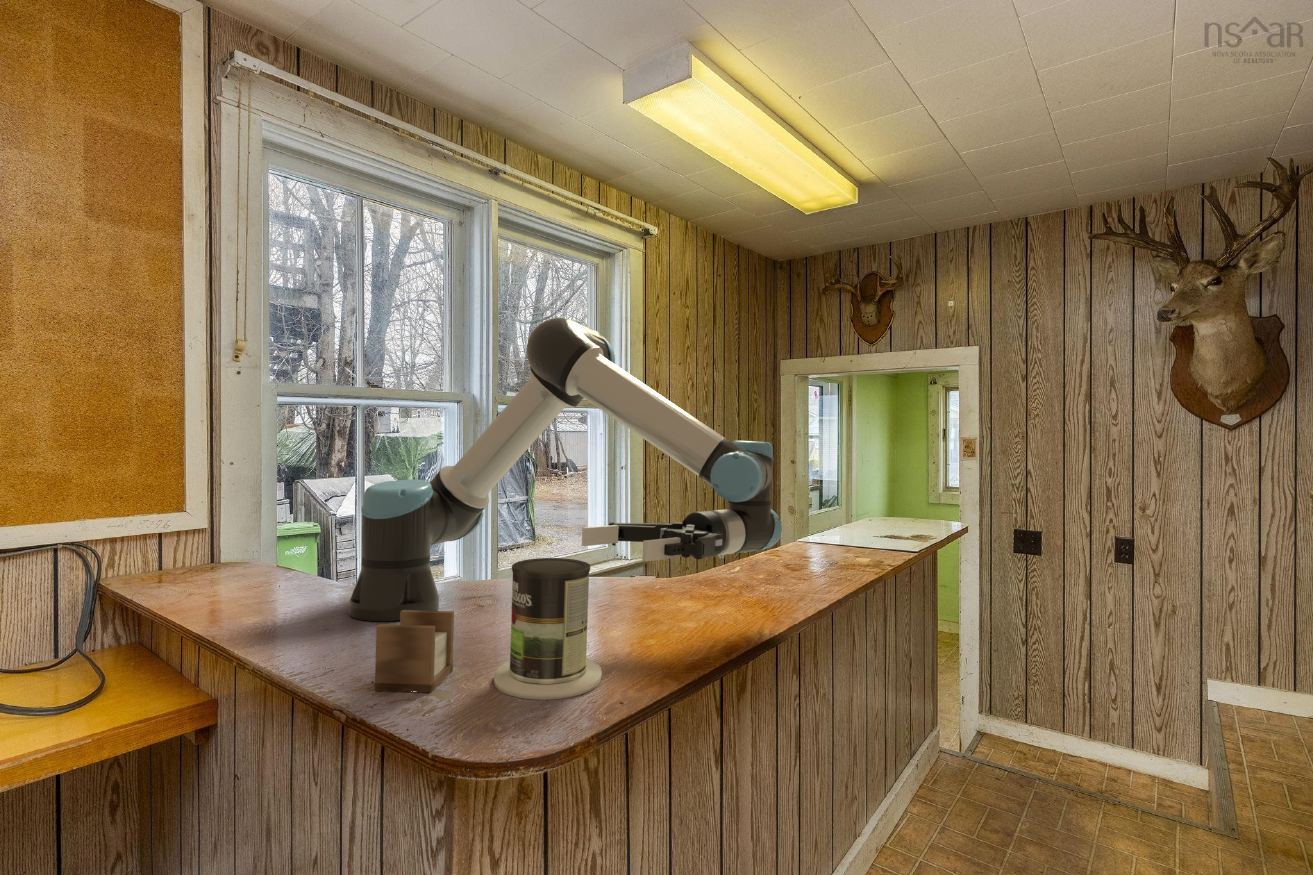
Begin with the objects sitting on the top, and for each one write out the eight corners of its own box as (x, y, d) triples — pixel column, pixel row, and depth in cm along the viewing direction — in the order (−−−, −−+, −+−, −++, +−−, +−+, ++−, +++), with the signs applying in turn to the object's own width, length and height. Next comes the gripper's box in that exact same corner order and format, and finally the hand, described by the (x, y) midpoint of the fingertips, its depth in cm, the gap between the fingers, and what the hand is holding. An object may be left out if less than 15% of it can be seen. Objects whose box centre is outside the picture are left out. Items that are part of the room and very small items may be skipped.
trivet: (480, 697, 79) (480, 689, 79) (509, 659, 93) (509, 652, 93) (594, 701, 79) (595, 693, 79) (606, 662, 93) (606, 655, 93)
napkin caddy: (374, 690, 80) (376, 626, 80) (401, 668, 88) (403, 609, 88) (430, 692, 80) (432, 628, 80) (452, 670, 88) (454, 611, 88)
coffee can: (522, 690, 79) (526, 574, 79) (499, 664, 88) (502, 560, 88) (600, 677, 84) (603, 568, 84) (570, 653, 93) (573, 555, 93)
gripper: (771, 569, 98) (672, 587, 83) (658, 544, 116) (560, 555, 102) (774, 520, 98) (675, 528, 83) (660, 503, 116) (562, 507, 102)
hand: (612, 543), depth 92 cm, fingers open, 13 cm apart
